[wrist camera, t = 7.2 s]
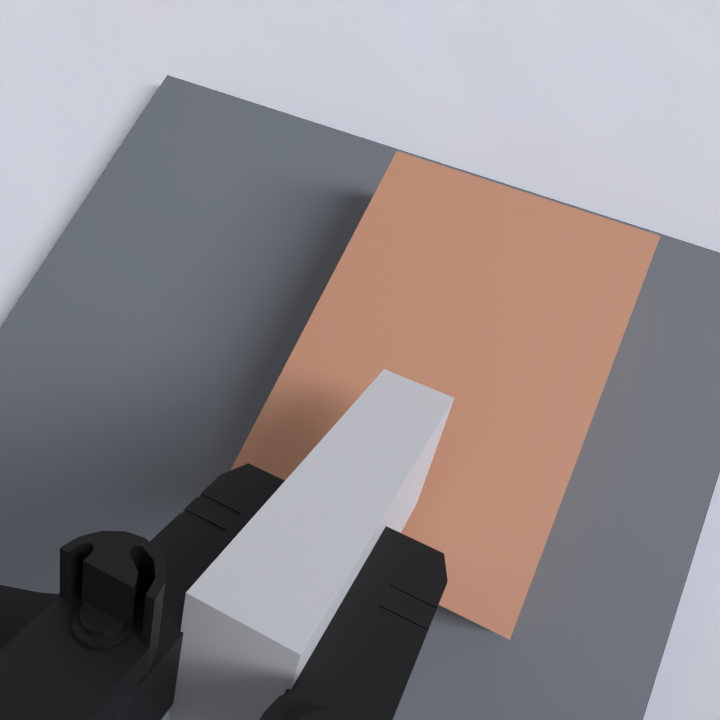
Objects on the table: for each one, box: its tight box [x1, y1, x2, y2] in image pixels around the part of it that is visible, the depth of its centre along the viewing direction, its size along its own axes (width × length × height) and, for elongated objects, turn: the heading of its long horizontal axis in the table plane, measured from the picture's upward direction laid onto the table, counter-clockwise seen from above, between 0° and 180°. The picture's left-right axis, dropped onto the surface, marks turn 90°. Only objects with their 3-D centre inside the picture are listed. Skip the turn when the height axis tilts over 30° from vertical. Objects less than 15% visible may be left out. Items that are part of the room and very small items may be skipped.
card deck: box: [231, 151, 660, 640], centre depth 17 cm, size 7×2×10 cm
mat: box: [0, 75, 720, 720], centre depth 18 cm, size 20×20×1 cm
